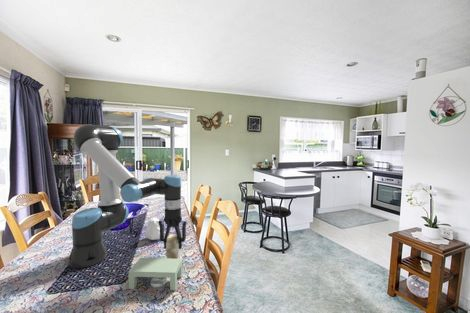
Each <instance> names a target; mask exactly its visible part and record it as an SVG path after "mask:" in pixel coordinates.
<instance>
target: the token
mask: <svg viewBox="0 0 470 313" xmlns="http://www.w3.org/2000/svg"><path fill="white" fill-rule="evenodd" d="M166 284H167V278H166V277H152V278H151V280H150V286H151V288H153V289H159V288H162V287H164V286H165V285H166Z"/></svg>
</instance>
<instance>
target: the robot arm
mask: <svg viewBox="0 0 470 313" xmlns="http://www.w3.org/2000/svg"><path fill="white" fill-rule="evenodd" d="M72 138H73V142H74V145H75V147H76V149H77V150H78V151H79V152H80V153H82V155H86V156H87V157H89V158H90V159H91V160H92V162H94V164H95V165H97V172H98V184H99V185H98V186H99V195H100V196H99V197H100V201H99V202H98V204H97V207H90V208H85V209H81V210H80V211H78V212H75V213H74V214H73V216H72V219H71V229H72V232H71V233H72V234H71V235H72V248H71V252H70V254H69V257H68V266H69V267H70V268H76V269H80V268H81V269H82V268H83V269H84V268H88V267H92V266H94V265H97V264H99V263H100V262H103V261H104V260H105V259H106V258H107V254H108V253H107V252H108V251H107V248H106V247H105V244H104V242H103V233H105V232H107V231H109V230H111V229H114V228H116V227H119V226H120V225H123V223H125V222H126V221H127V219H128V217H129V208H128V206H127V204H125V203H133V202H137V201H139V200H142V199H144V198H148V197H151V196H154V195H163V196H164V218H163V219H162V218H161V219H159V222H158V223H159V226H160V238H159V241H160V242H163V249H165V256H166V257H167V237H168V236H169V234H170V232H171V228H174V230H175V234H177V238H178V242H177V256H179V257H180V255H181V249H182V247H183V243H184V242H185V240H186V239H187V223H188V219H183V218H182V208H181V207H182V196H181V195H182V194H181V193H182V180H181V179H182V178H181V176H180V175H177V174H168V175H164V178H154V177H146V178H144V179H143V180H142V181H139V179H138V178H136V177H135V176H134V175H133V173H132V172H130V171H129V170H128V169H127V168H126V166H124V165H123V164H122V163H121V162H120V161H119V159H118V158H117V155H116V154H117V153H118V152H119V148H120V147H121V146H122V144H123V140H124V138H123V134H122V132H121V130H119V129H118V128H117V127H114V126H111V125H99V124H82V125H81V126H79V127H78V128H76V130H75V131H74V133H73V136H72ZM119 190H120V191H119ZM120 196H121V198H120ZM124 202H125V203H124ZM180 223H181V225H182V227H181V230H180ZM165 224H166V230H165Z"/></svg>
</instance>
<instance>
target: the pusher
mask: <svg viewBox="0 0 470 313" xmlns="http://www.w3.org/2000/svg"><path fill="white" fill-rule="evenodd" d="M177 242H178V238H177V234H176V233H169V236H168V237H167V256H166V258H171V259H179V257H180V255H179V256H177Z"/></svg>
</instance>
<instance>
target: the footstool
mask: <svg viewBox="0 0 470 313" xmlns="http://www.w3.org/2000/svg"><path fill="white" fill-rule="evenodd" d="M182 276H183V258H178V259H171V258H167V257H164V258H163V257H159V258H158V257H140V258H139V259H138V260H136V262H135V263H134V264H133V266H132V267H131V268H130V269H129V270H128V289H129V290H134V289H136V287H137V284H138V283H137V277H141V278H154V277H166V279H167V278H168V279H169V288H170V291H176V290H177V288H178V279H179V278H182Z"/></svg>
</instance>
